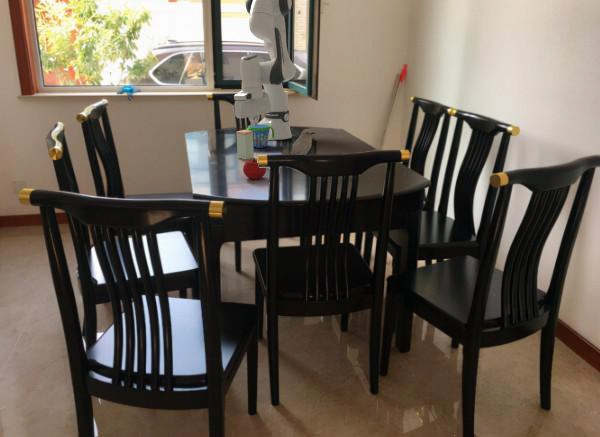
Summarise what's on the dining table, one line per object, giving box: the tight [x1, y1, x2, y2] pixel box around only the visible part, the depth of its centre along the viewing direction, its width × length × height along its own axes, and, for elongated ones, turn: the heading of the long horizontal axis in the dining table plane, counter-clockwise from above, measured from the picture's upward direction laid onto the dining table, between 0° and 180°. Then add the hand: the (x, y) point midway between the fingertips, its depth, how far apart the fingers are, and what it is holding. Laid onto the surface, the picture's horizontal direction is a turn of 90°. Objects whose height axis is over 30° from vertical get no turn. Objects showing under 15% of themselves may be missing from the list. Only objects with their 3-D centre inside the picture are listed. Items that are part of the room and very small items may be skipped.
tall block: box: [236, 129, 255, 160], centre depth 225 cm, size 5×5×12 cm
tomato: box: [242, 157, 267, 180], centre depth 193 cm, size 9×9×8 cm
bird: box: [288, 128, 316, 155], centre depth 212 cm, size 5×14×15 cm, turn 63°
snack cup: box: [245, 124, 274, 149], centre depth 248 cm, size 16×10×10 cm
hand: (254, 125), depth 227 cm, fingers closed
